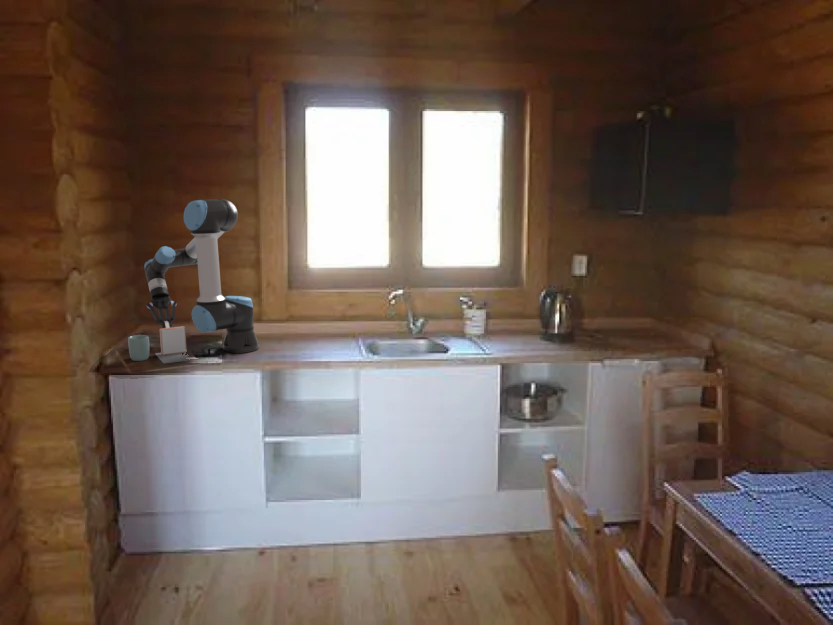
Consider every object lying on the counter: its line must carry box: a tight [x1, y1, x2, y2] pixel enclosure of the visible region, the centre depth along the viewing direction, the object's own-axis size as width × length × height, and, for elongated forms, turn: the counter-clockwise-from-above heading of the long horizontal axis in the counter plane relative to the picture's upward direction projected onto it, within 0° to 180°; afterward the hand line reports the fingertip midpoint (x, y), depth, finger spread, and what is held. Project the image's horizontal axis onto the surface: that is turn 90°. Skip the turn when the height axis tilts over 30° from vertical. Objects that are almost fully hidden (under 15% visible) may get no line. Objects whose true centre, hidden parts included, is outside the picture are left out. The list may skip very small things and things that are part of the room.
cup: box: [127, 334, 150, 362], centre depth 304 cm, size 8×8×10 cm
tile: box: [159, 325, 188, 355], centre depth 312 cm, size 2×10×11 cm, turn 119°
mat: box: [154, 352, 190, 365], centre depth 309 cm, size 18×14×1 cm
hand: (168, 335), depth 318 cm, fingers closed
